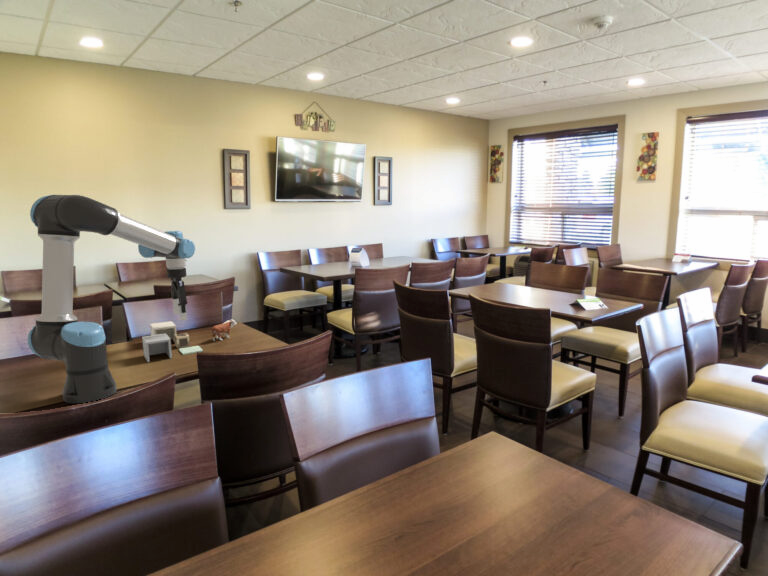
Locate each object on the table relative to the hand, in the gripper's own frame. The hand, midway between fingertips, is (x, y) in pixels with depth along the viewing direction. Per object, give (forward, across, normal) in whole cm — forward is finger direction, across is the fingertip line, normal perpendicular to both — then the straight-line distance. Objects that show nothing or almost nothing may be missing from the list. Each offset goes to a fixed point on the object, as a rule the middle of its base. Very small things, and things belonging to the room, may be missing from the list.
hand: (180, 316), depth 212 cm
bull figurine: (+13, +2, -18) cm, 23 cm away
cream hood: (+13, +10, +6) cm, 18 cm away
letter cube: (+13, 0, 0) cm, 13 cm away
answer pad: (+13, -9, -1) cm, 16 cm away
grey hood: (+13, -10, +12) cm, 20 cm away
